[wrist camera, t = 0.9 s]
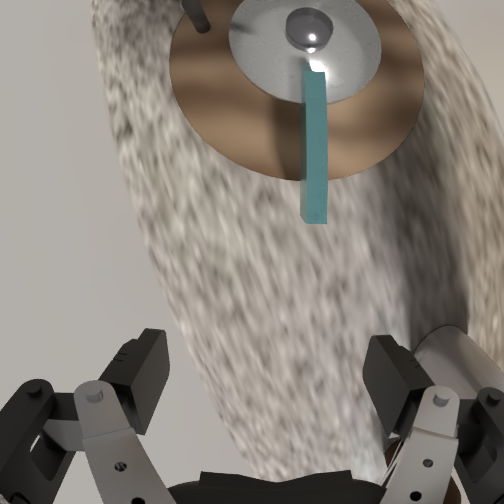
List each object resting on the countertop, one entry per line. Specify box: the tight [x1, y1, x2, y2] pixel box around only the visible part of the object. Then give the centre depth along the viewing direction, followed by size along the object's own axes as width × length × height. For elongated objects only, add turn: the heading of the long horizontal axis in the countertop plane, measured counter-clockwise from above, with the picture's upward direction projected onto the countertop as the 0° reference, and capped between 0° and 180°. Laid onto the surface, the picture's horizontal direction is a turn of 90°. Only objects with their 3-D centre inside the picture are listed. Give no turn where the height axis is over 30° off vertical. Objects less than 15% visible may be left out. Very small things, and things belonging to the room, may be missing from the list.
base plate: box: [170, 0, 424, 181], centre depth 23 cm, size 28×28×8 cm
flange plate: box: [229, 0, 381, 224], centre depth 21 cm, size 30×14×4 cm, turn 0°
